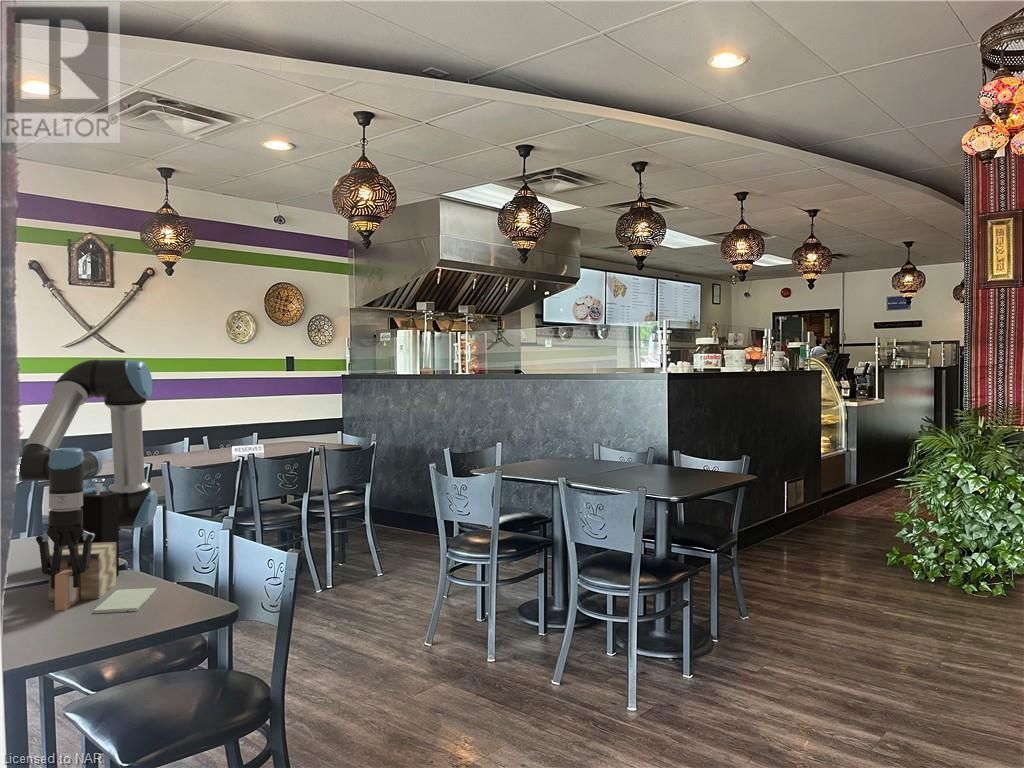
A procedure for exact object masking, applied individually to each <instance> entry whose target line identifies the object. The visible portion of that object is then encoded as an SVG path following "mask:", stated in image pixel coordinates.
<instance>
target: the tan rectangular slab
mask: <svg viewBox="0 0 1024 768" xmlns="http://www.w3.org/2000/svg"><path fill="white" fill-rule="evenodd" d="M80 566H81V560H80ZM71 574H72V566H69V567H68V568H66V569H65V570H63V571H61V572H60V573H58V574H57V575H55V601H54V611H55V610H64V611H67V610H68V609H69V608H71V607H72V606H73V605H75V602H76V603H77V602H78V601H80V600H81V575H80V586H79V587H77V588H76V599H75V600H74V601H72V602H69V576H70V575H71ZM71 605H72V606H71ZM67 608H68V609H67ZM66 609H67V610H66Z"/></svg>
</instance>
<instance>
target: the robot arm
mask: <svg viewBox="0 0 1024 768" xmlns="http://www.w3.org/2000/svg"><path fill="white" fill-rule="evenodd" d="M51 393H52V396H51V398H50V400H49V401H48V403H47V405H46V406H45V408H44V411H43V412H42V413H41V415H40V418H39V419H38V421H37V423H36V424H35V427H34V428H33V429H32V432H31V433H30V435H29V437H28V439H27V440H26V442H25V444H24V445H23V447H22V449H23V455H22V459H21V464H20V472H19V481H18V482H21V483H22V482H23V483H25V482H47V481H48V508H49V509H50V510H49V511H48V529H47V530H46V532H45V533H43V534H39V535H37V536H36V537H35V540H36V543H37V544H38V548H39V555H40V557H39V558H40V565H41V571H42V574H43V575H48V576H49V575H50V576H51V588H52V589H55V575H57V574H58V573H60V571H59V570H60V564H61V557H62V550H63V547H65V546H68V549H69V552H70V559H71V566H72V574H71V575H70V576H69V602H72V601H74V600H75V599H76V588H77V587H79V586H80V575H81V573H84V572H85V571H87V570H88V569H89V563H90V555H91V547H92V541H93V539H94V537H95V533H89V532H87V531H85V528H84V526H83V509H82V508H81V507H82V506H83V494H88V493H92V492H96V488H95V486H94V487H89V488H84V481H89V480H90V479H93V478H94V477H96V476H98V475H99V473H101V471H102V468H103V464H104V463H103V460H102V457H101V456H100V455H99V454H98V453H96V452H95V451H90V450H89V451H88V450H86V451H84V450H83V449H82V448H80V447H59V446H60V445H61V442H62V441H63V439H64V437H65V435H66V432H67V431H68V429H69V428H70V425H71V424H72V422H73V420H74V417H75V416H76V414H77V413H78V410H79V408H80V406H83V405H84V404H86V402H87V401H88V399H91V398H103V399H104V405H105V406H106V407H107V408H109V410H110V425H111V426H110V427H111V441H112V443H111V445H112V459H113V461H112V463H113V478H114V483H113V484H112V485H111V486H109V492H119V529H137V528H146V527H148V526H150V525H151V524H152V522H153V520H154V518H155V515H156V513H157V508H158V501H159V498H158V492H157V491H156V490H154V489H152V490H151V484H150V482H148V481H146V479H145V459H144V458H145V457H144V438H143V436H144V435H143V417H142V415H143V413H142V409H143V408H142V407H143V406H145V404H146V403H147V399H148V398H150V397H151V396H152V394H153V377H152V374H151V371H150V369H149V367H148V365H147V364H146V363H145V362H144V361H142V360H132V359H89V360H85V361H82V362H79V363H77V364H76V365H74V366H72V367H71V368H69V369H68V370H66V371H64V373H63V374H61V376H60V377H59V378H58V379H57V380H56V381H55V383H54V384H53V386H52V390H51ZM101 492H107V488H106V487H105V486H102V488H101ZM82 535H83V540H84V545H83V552H82V560H81V566H80V558H79V551H78V540H79V539H80V538H81V536H82ZM49 540H51V541H52V542H53V549H52V550H53V552H52V553H53V559H52V566H51V561H50V555H51V553H50V547H49V546H50V544H49Z"/></svg>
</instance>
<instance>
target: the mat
mask: <svg viewBox="0 0 1024 768" xmlns="http://www.w3.org/2000/svg"><path fill="white" fill-rule="evenodd" d="M156 590H157V591H158V587H149V588H146V587H145V588H129V589H125V588H124V589H116V590H115V591H114V592H113V593H112V594H111V595H109V596H108V597H107V598H106V599H105V600H104V601H103V602H102V603H100V604H99V605H98V606H97V607H96V608H94V609H93V614H106V613H110V614H111V613H127V611H129V612H138V611H139V610H140V609H141V608H142V607H143V606H144V605H145V604H146V603H147V602H146V601H147V600H148V599H149V600H150V599H151V597H152V596H153V595H154V594H155V593H156V592H157V591H156ZM155 591H156V592H155ZM154 592H155V593H154ZM153 593H154V594H153ZM152 594H153V595H152ZM151 595H152V596H151ZM150 596H151V597H150ZM149 600H148V601H149ZM145 602H146V603H145ZM144 603H145V604H144ZM143 604H144V605H143ZM142 605H143V606H142ZM141 606H142V607H141ZM140 607H141V608H140ZM139 608H140V609H139ZM138 609H139V610H138ZM137 610H138V611H137Z"/></svg>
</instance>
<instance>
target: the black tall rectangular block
mask: <svg viewBox="0 0 1024 768" xmlns="http://www.w3.org/2000/svg"><path fill="white" fill-rule="evenodd" d="M94 487H95V488H96V492H92V493H88V494H83V506H82V507H81V508H82V509H83V526H84V528H85V531H87V532H89V533H95V537H94V539H93V541H92V543H103V542H116V577H117V576H119V567H120V566H119V561H120V559H119V553H120V551H119V549H120V547H119V545H120V544H119V542H120V539H119V538H120V533H119V531H120V528H119V492H110V491H106V492H101V488H102V487H103V483H102V482H101V483H99V482H98V483H94ZM78 543H84V540H83V535H82V536H81V538H80V539H79V540H78Z"/></svg>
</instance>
